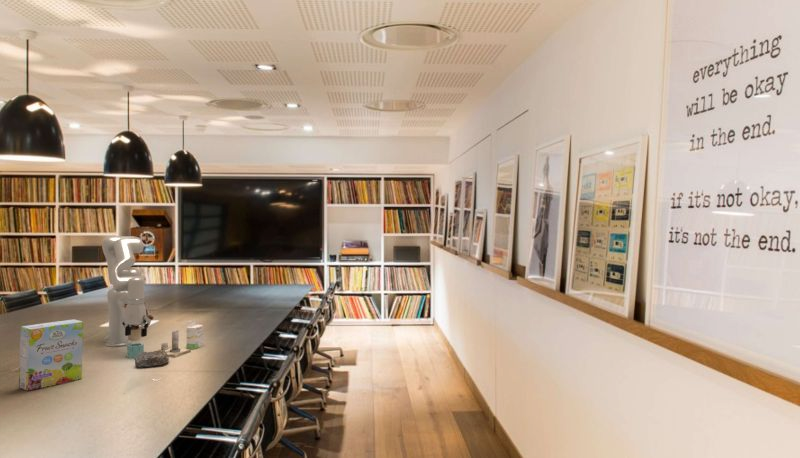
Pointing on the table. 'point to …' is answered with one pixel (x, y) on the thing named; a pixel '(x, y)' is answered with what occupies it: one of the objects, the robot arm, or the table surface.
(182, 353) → the board
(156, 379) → the paper
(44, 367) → the snack box
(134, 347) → the ring
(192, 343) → the ink box
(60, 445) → the table surface
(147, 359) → the rock
